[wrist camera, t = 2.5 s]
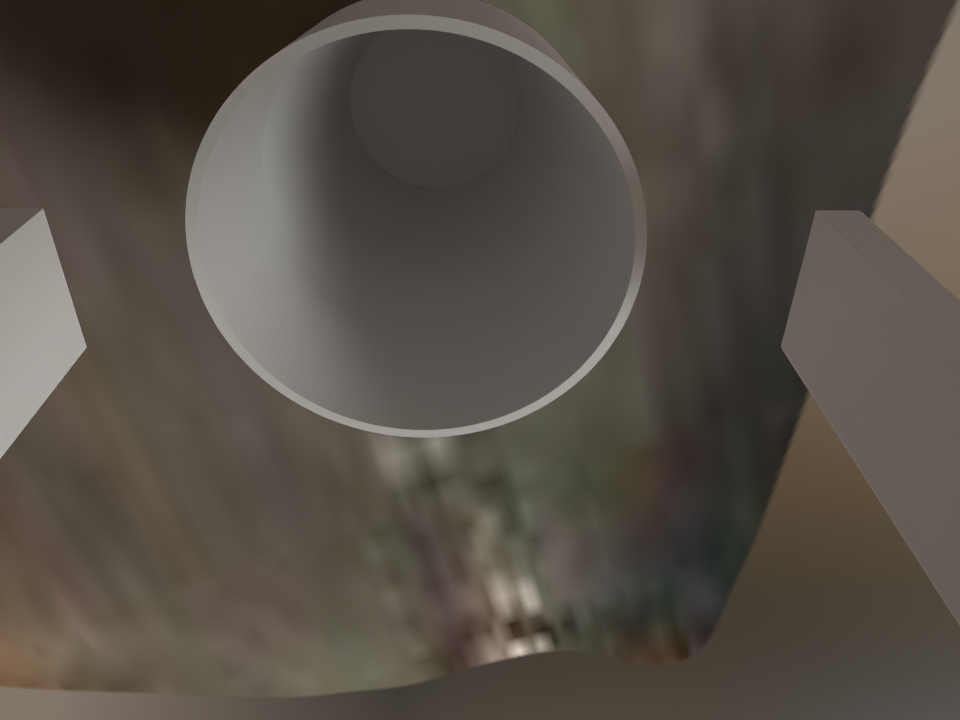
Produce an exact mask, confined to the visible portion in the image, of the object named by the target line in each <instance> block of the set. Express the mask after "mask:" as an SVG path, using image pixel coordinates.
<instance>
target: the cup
mask: <svg viewBox="0 0 960 720" xmlns="http://www.w3.org/2000/svg"><path fill="white" fill-rule="evenodd" d="M185 224H186V239H187V247H188V253H189V259H190V263H191V267H192V271H193V274H194V278H195V281H196V284H197V287H198V289H199V292H200V294H201V297H202V299H203V301H204V303H205V306H206V308H207V310H208V312H209V313H210V315H211V317H212V319H213V321H214V322H215V324H216V326H217V327H218V329H219V330H220V332H221V333H222V335H223V336H224V338H225V339H226V340H227V342H228V343H229V344H230V346H231V347H232V348H233V349H234V351H235V352H236V353H237V354H238V355H239V356H240V357H241V359H242V360H243V361H244V362H245V363H246V364H247V365H248V366H249V367H250V368H251V369H252V370H253V371H254V372H255V373H257V374H258V375H259V376H260V377H261V378H262V379H263V380H265V381H266V382H267V383H268V384H269V385H271V386H272V387H273V388H275V389H276V390H277V391H279V392H280V393H282V394H283V395H285V396H286V397H288V398H289V399H291V400H293V401H294V402H296V403H298V404H299V405H301V406H303V407H305V408H307V409H309V410H310V411H313V412H315V413H317V414H319V415H321V416H323V417H326V418H328V419H331V420H333V421H336V422H338V423H341V424H344V425H347V426H351V427H354V428H358V429H361V430H365V431H370V432H375V433H380V434H386V435H393V436H403V437H445V436H455V435H462V434H468V433H473V432H478V431H482V430H486V429H490V428H493V427H497V426H500V425H503V424H506V423H509V422H511V421H514V420H516V419H519V418H521V417H523V416H526V415H528V414H530V413H532V412H534V411H536V410H538V409H539V408H541V407H543V406H545V405H546V404H548V403H550V402H551V401H553V400H554V399H556V398H557V397H559V396H560V395H562V394H563V393H565V392H566V391H567V390H569V389H570V388H571V387H572V386H574V385H575V384H576V383H577V382H578V381H579V380H581V379H582V378H583V377H584V376H585V375H586V374H587V373H588V372H589V371H590V370H591V369H592V368H593V367H594V366H595V365H596V364H597V362H598V361H599V360H600V359H601V358H602V357H603V355H604V354H605V353H606V352H607V350H608V349H609V347H610V346H611V345H612V343H613V342H614V340H615V339H616V337H617V336H618V334H619V332H620V331H621V329H622V327H623V325H624V323H625V321H626V320H627V318H628V315H629V313H630V311H631V309H632V306H633V304H634V301H635V299H636V296H637V293H638V290H639V286H640V283H641V279H642V274H643V269H644V264H645V257H646V246H647V220H646V209H645V203H644V197H643V192H642V187H641V184H640V180H639V176H638V173H637V170H636V167H635V164H634V162H633V159H632V157H631V154H630V152H629V150H628V148H627V146H626V144H625V142H624V140H623V138H622V136H621V134H620V133H619V131H618V129H617V127H616V126H615V124H614V123H613V121H612V120H611V118H610V117H609V115H608V114H607V113H606V111H605V110H604V108H603V107H602V106H601V105H600V103H599V102H598V101H597V100H596V99H595V97H594V96H593V95H592V94H591V93H590V91H589V90H588V89H587V88H586V87H585V85H584V84H583V83H582V82H581V81H580V79H579V78H578V77H577V76H576V75H575V73H574V72H573V71H572V70H571V69H570V67H569V66H568V65H567V64H566V63H565V61H564V60H563V59H562V58H561V57H560V55H559V54H558V53H557V52H556V51H555V50H554V49H553V48H552V46H551V45H550V44H549V43H548V42H547V41H546V40H545V39H543V38H542V37H541V36H540V35H539V34H538V33H537V32H535V31H534V30H533V29H532V28H530V27H529V26H528V25H526V24H525V23H523V22H522V21H520V20H519V19H517V18H516V17H514V16H512V15H511V14H509V13H507V12H505V11H503V10H501V9H499V8H497V7H495V6H493V5H491V4H488V3H486V2H483V1H480V0H362V1H359V2H356V3H354V4H351V5H349V6H347V7H345V8H343V9H341V10H339V11H337V12H335V13H333V14H332V15H330V16H329V17H327V18H325V19H324V20H322V21H321V22H320V23H318V24H317V25H315V26H314V27H313V28H311V29H310V30H308V31H307V32H306V33H304V34H303V35H301V36H300V37H299V38H297V39H296V40H294V41H293V42H292V43H290V44H289V45H287V46H286V47H285V48H283V49H282V50H280V51H279V52H278V53H276V54H275V55H273V56H272V57H271V58H269V59H268V60H266V61H265V62H264V63H263V64H261V65H260V66H259V67H258V68H256V69H255V70H254V71H253V72H252V73H251V74H250V75H248V76H247V77H246V78H245V79H244V80H243V81H242V82H241V83H240V84H239V86H238V87H237V88H236V89H235V90H234V91H233V92H232V93H231V95H230V96H229V97H228V98H227V100H226V101H225V102H224V104H223V105H222V106H221V108H220V109H219V111H218V112H217V114H216V115H215V117H214V119H213V120H212V122H211V124H210V126H209V127H208V129H207V131H206V133H205V135H204V137H203V139H202V142H201V144H200V147H199V149H198V152H197V154H196V157H195V160H194V163H193V167H192V171H191V175H190V179H189V184H188V191H187V198H186V213H185Z"/></svg>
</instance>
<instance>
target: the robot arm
mask: <svg viewBox="0 0 960 720" xmlns="http://www.w3.org/2000/svg"><path fill="white" fill-rule="evenodd" d="M781 348H782V350H783V351H784V353H785V355H786V356H787V358H788V359H789V361H790V362H791V364H792V365H793V367H794V369H795V370H796V372H797V373H798V375H799V376H800V378H801V379H802V381H803V383H804V384H805V386H806V387H807V389H808V390H809V392H810V393H811V395H812V397H813V398H814V400H815V401H816V403H817V404H818V406H819V407H820V409H821V411H822V412H823V414H824V415H825V417H826V418H827V420H828V421H829V423H830V424H831V426H832V428H833V429H834V431H835V432H836V434H837V436H838V437H839V439H840V440H841V442H842V443H843V445H844V446H845V448H846V450H847V451H848V453H849V454H850V456H851V457H852V459H853V461H854V462H855V464H856V465H857V467H858V468H859V470H860V471H861V473H862V474H863V476H864V477H865V479H866V481H867V482H868V484H869V485H870V487H871V489H872V490H873V491H874V493H875V495H876V496H877V498H878V500H879V501H880V503H881V504H882V506H883V507H884V509H885V510H886V512H887V514H888V515H889V517H890V518H891V520H892V521H893V523H894V524H895V526H896V528H897V529H898V531H899V532H900V534H901V535H902V537H903V539H904V540H905V541H906V543H907V545H908V546H909V548H910V549H911V551H912V552H913V554H914V556H915V557H916V559H917V560H918V562H919V563H920V565H921V566H922V568H923V570H924V571H925V573H926V574H927V576H928V577H929V579H930V580H931V582H932V584H933V585H934V587H935V588H936V590H937V591H938V593H939V595H940V596H941V597H942V599H943V601H944V602H945V604H946V606H947V607H948V609H949V610H950V612H951V613H952V615H953V616H954V618H955V619H956V621H957V623H958V624H959V626H960V300H959V299H958V298H957V297H956V296H954V295H953V294H952V293H951V292H950V291H949V290H948V289H947V288H945V287H944V286H943V285H942V284H941V283H940V282H939V281H938V280H937V279H935V278H934V277H933V276H932V275H931V274H930V273H929V272H928V271H926V270H925V269H924V268H923V267H922V266H921V265H920V264H919V263H918V262H917V261H915V260H914V259H913V258H912V257H911V256H910V255H909V254H908V253H907V252H905V251H904V250H903V249H902V248H901V247H900V246H899V245H898V244H897V243H895V242H894V241H893V240H892V239H891V238H890V237H889V236H888V235H887V234H885V233H884V232H883V231H882V230H881V229H880V228H879V227H878V226H877V225H875V224H874V223H873V222H872V221H871V220H870V219H869V218H868V217H867V216H865V215H864V214H863V213H862V212H861V211H816V212H815V216H814V220H813V224H812V228H811V232H810V236H809V240H808V243H807V247H806V251H805V255H804V259H803V263H802V267H801V271H800V275H799V278H798V282H797V286H796V290H795V294H794V298H793V302H792V306H791V310H790V313H789V317H788V321H787V325H786V329H785V333H784V337H783V341H782V344H781ZM85 349H86V344H85V341H84V338H83V334H82V331H81V328H80V325H79V322H78V318H77V315H76V312H75V309H74V306H73V302H72V299H71V296H70V293H69V290H68V286H67V283H66V280H65V277H64V274H63V270H62V267H61V264H60V261H59V258H58V254H57V251H56V248H55V245H54V242H53V238H52V235H51V232H50V229H49V226H48V222H47V219H46V216H45V213H44V210H43V208H0V458H1V457H2V456H3V455H4V453H5V452H6V451H7V449H8V448H9V447H10V446H11V444H12V443H13V442H14V440H15V439H16V438H17V436H18V435H19V434H20V433H21V431H22V430H23V429H24V427H25V426H26V425H27V424H28V422H29V421H30V420H31V418H32V417H33V416H34V415H35V413H36V412H37V411H38V409H39V408H40V407H41V405H42V404H43V403H44V402H45V400H46V399H47V398H48V396H49V395H50V394H51V393H52V391H53V390H54V389H55V387H56V386H57V385H58V384H59V382H60V381H61V380H62V378H63V377H64V376H65V374H66V373H67V372H68V371H69V369H70V368H71V367H72V365H73V364H74V363H75V362H76V360H77V359H78V358H79V356H80V355H81V354H82V353H83V351H84V350H85Z"/></svg>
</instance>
